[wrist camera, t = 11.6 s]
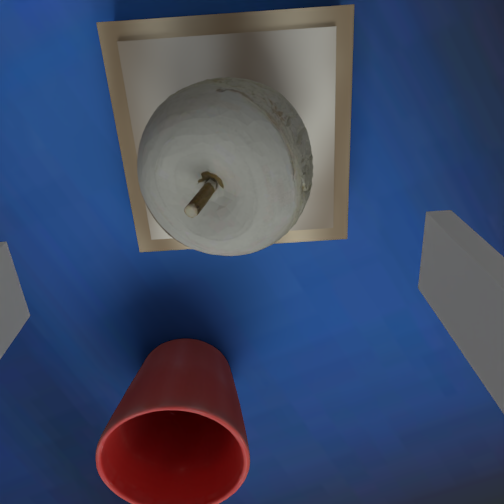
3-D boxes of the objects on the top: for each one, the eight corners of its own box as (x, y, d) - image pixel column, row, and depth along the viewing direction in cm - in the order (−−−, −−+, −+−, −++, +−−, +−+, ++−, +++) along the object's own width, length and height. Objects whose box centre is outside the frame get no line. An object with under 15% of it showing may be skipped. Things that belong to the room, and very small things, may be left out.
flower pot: (106, 336, 40) (69, 425, 31) (232, 311, 39) (230, 395, 31) (146, 425, 45) (123, 524, 36) (259, 404, 44) (264, 501, 35)
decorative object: (332, 138, 29) (374, 194, 20) (236, 237, 31) (234, 325, 23) (221, 29, 26) (210, 38, 17) (126, 148, 29) (74, 209, 20)
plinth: (150, 228, 36) (138, 254, 32) (114, 21, 29) (94, 22, 26) (336, 215, 36) (348, 240, 32) (340, 5, 29) (355, 4, 25)
